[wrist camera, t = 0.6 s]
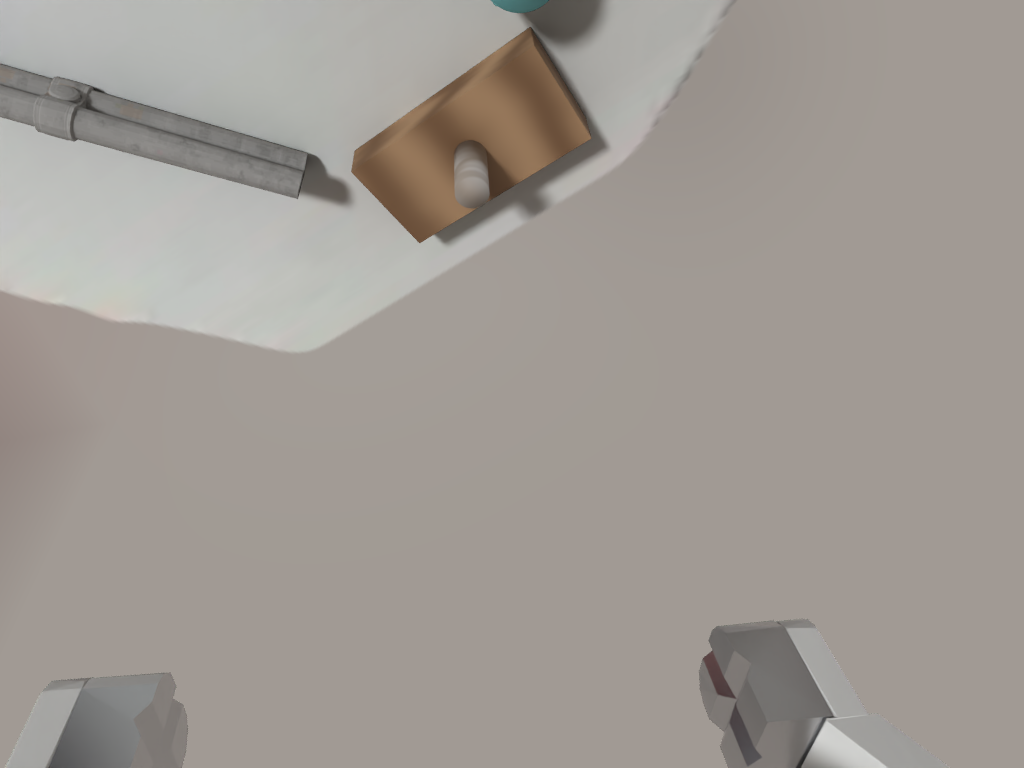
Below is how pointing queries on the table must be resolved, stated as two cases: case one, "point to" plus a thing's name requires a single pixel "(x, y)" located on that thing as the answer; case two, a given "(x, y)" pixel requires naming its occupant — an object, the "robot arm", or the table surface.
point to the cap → (519, 5)
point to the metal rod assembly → (147, 132)
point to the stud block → (473, 139)
